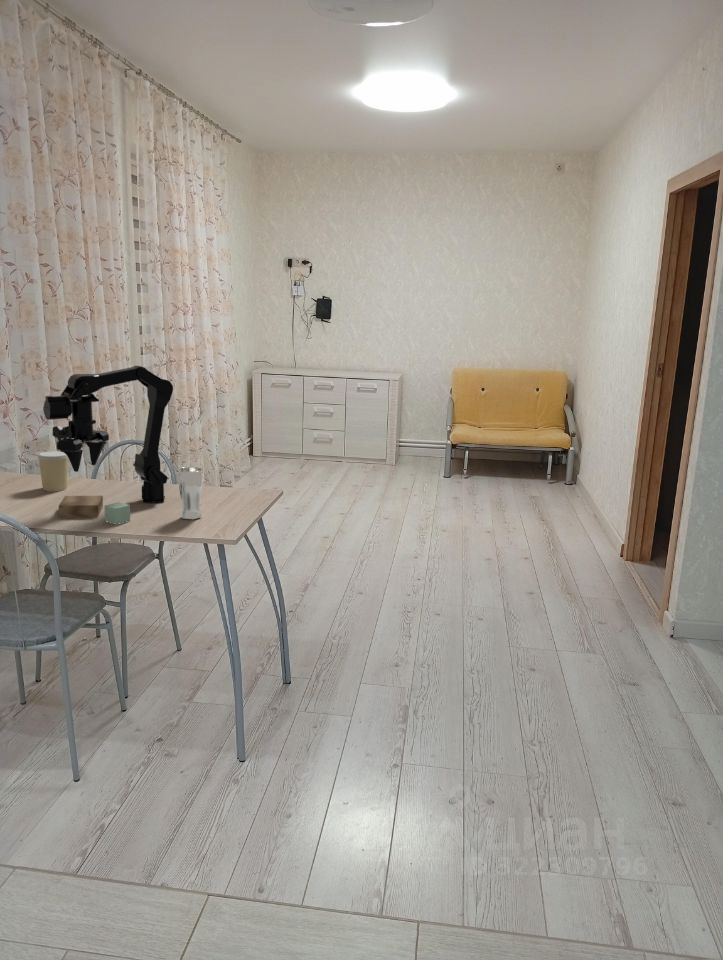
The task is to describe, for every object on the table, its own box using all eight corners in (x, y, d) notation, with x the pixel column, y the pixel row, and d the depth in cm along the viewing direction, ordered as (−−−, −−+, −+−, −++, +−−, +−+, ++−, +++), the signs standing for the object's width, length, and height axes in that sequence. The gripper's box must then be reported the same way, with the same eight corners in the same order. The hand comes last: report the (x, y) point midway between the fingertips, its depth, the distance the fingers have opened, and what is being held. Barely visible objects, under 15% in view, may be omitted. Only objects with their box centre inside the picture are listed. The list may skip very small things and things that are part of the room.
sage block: (119, 518, 224) (118, 502, 223) (130, 521, 221) (129, 505, 220) (105, 521, 220) (104, 505, 219) (116, 525, 217) (115, 508, 216)
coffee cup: (73, 485, 258) (72, 451, 255) (64, 492, 248) (63, 457, 246) (46, 484, 257) (44, 450, 254) (35, 491, 248) (33, 456, 245)
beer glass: (202, 520, 225) (202, 471, 222) (178, 520, 224) (177, 471, 220) (203, 514, 232) (203, 466, 228) (180, 514, 231) (179, 466, 227)
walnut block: (103, 507, 235) (102, 495, 234) (98, 518, 224) (97, 505, 223) (65, 508, 232) (65, 495, 232) (59, 518, 222) (58, 505, 221)
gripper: (76, 410, 234) (79, 459, 238) (38, 420, 216) (42, 472, 220) (108, 413, 232) (110, 462, 235) (73, 422, 214) (76, 476, 218)
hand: (85, 468), depth 227 cm, fingers open, 9 cm apart
